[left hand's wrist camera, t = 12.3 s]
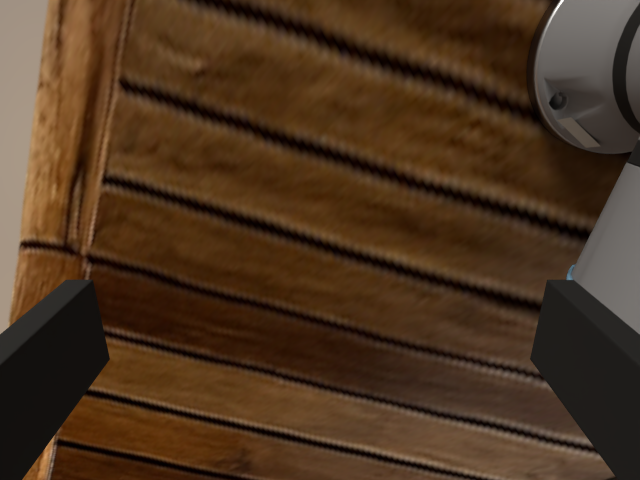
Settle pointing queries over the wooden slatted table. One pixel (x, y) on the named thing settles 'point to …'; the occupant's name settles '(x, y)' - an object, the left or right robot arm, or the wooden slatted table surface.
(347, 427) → the wooden slatted table surface
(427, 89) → the wooden slatted table surface
